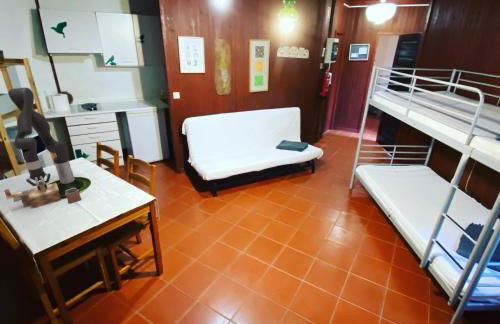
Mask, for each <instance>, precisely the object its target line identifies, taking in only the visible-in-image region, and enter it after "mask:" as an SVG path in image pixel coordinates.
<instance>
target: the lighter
mask: <svg viewBox="0 0 500 324" xmlns="http://www.w3.org/2000/svg"><path fill="white" fill-rule="evenodd" d="M64 194H65V196H66V200H67V204H73V203H76V202H79V201H82V197H81V193H80V189H77V188H76V187H71V188H69V189H66V190H65V193H64Z"/></svg>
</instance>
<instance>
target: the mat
mask: <svg viewBox="0 0 500 324" xmlns="http://www.w3.org/2000/svg"><path fill="white" fill-rule="evenodd" d="M28 190H29V189H28ZM28 190H23V191H21V192H22V193H23V194H25V193H28ZM12 199H13V202H18V201H21V198H20V196H19V197H15V198H12Z"/></svg>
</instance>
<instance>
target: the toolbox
mask: <svg viewBox="0 0 500 324" xmlns="http://www.w3.org/2000/svg"><path fill="white" fill-rule="evenodd" d="M59 192H60V191H58V192H54V193H50V194H47V195H43V196H39V197H36V198H32V199H30V198H29V194H28V193H25V194H23V196H20V198H21V200H20V201H21V203H22V205H23V207H24V208H27V207H31V209H35V208H38V207H42V206H45V205H49V204H52V203H56V202H59V201H61V200H62V198H61V195H60V193H59Z"/></svg>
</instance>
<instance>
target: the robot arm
mask: <svg viewBox="0 0 500 324" xmlns="http://www.w3.org/2000/svg"><path fill="white" fill-rule="evenodd" d="M8 96H9V99H10V100H11V102H12V103H13V104H14V105H15V106H16V107H17V108H18V110H20V114H19V115H18V117H17V119H16V120H17V121H16V124H17V126H16V127H17V132H16V135H15V138H14V147H15V148H16V149H18V150H28V151H25V152H23V154H22V156H23V158H24V159H23V160H24V162H25V166H26V168H27V171H28V174H29V177H28V178H26V179H25V180H26V181H25V182H27V183H28V184H29V185H31V186H32V187H36V188H38V190H41V189H40V187H39V183H38V182H39V181H42V182H43V184H44V187H45V189H46V188H47V185H48V183H49V182H50V179H51V173H50V172H49V173H46V172H45V171H44V168H43V164H42V162H41V160H40V158H39V156H38V148H37V145H38V142H37V140H36V138H34V137H27V136H29V135H31V134H33V129H34V131H35V132H36V133H37V135H38V137H39V138H40V139H41V141H42V144H43V145H44V146H45V148H46V150H47V151H48V152H49V153H50V154H51V153H52V154H55V156H56V157H54V158H53V163H54V166H55V170H56V172H57V176H58V179H59V182H60V183H61V184H64V185H66V184H71V183H73V182H75V181H76V179H75V175H74V173H73V170H72V167H71V164H70V160H69V156H70V155H69V151H68V147H67V145H66V143H65V142H63V141H57V140H55V139H54V137H53V136H52V134H51V126H50V123H49V122H48V121H47V118H46V117H45V116H44V115H42V114H41V113H40V112H38V111H36V110H34V109H33V108H34V101H35V96H34V92H33V91H32V89H30V87H16V88H11V89H9V90H8ZM45 177H46V180H45ZM74 180H75V181H74ZM34 181H35V182H34Z"/></svg>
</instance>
